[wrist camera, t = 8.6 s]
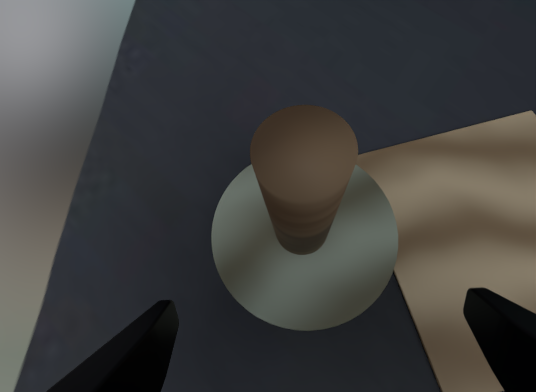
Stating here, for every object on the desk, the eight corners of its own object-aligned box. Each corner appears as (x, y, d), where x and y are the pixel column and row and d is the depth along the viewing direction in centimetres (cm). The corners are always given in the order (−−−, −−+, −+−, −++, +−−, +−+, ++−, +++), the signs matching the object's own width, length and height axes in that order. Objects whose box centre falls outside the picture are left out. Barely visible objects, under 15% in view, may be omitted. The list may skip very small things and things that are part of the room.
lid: (433, 241, 18) (610, 157, 8) (293, 376, 16) (281, 500, 6) (307, 128, 22) (312, -25, 12) (183, 224, 20) (64, 141, 10)
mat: (698, 341, 17) (705, 341, 17) (445, 402, 17) (447, 404, 17) (529, 112, 24) (531, 110, 24) (348, 158, 24) (349, 157, 24)
